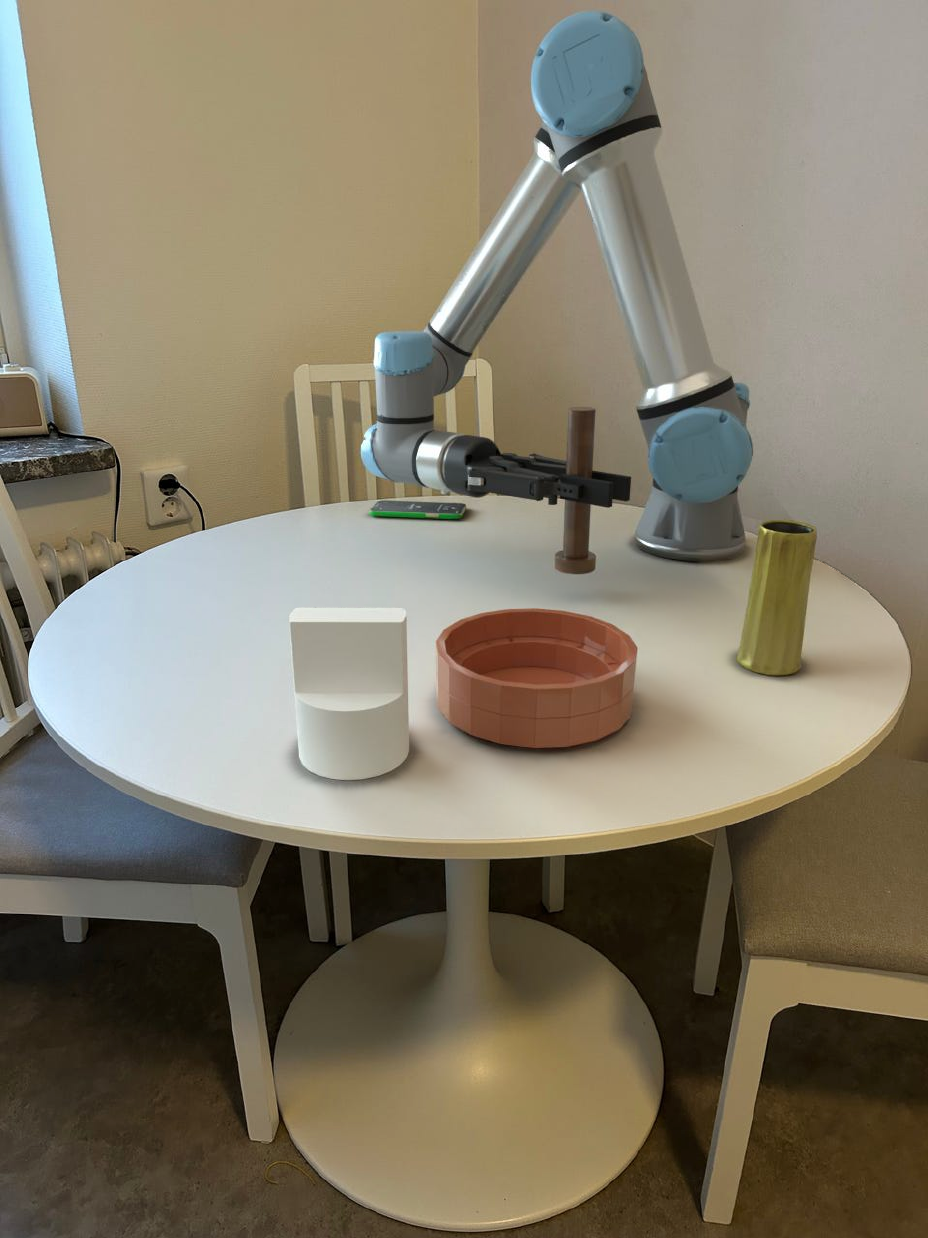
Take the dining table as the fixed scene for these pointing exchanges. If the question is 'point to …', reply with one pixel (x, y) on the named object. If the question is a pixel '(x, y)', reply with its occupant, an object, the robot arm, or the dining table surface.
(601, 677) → the bowl
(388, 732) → the base with upright slab
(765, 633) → the vase
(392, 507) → the smartphone
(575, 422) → the brown peg
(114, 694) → the dining table surface
